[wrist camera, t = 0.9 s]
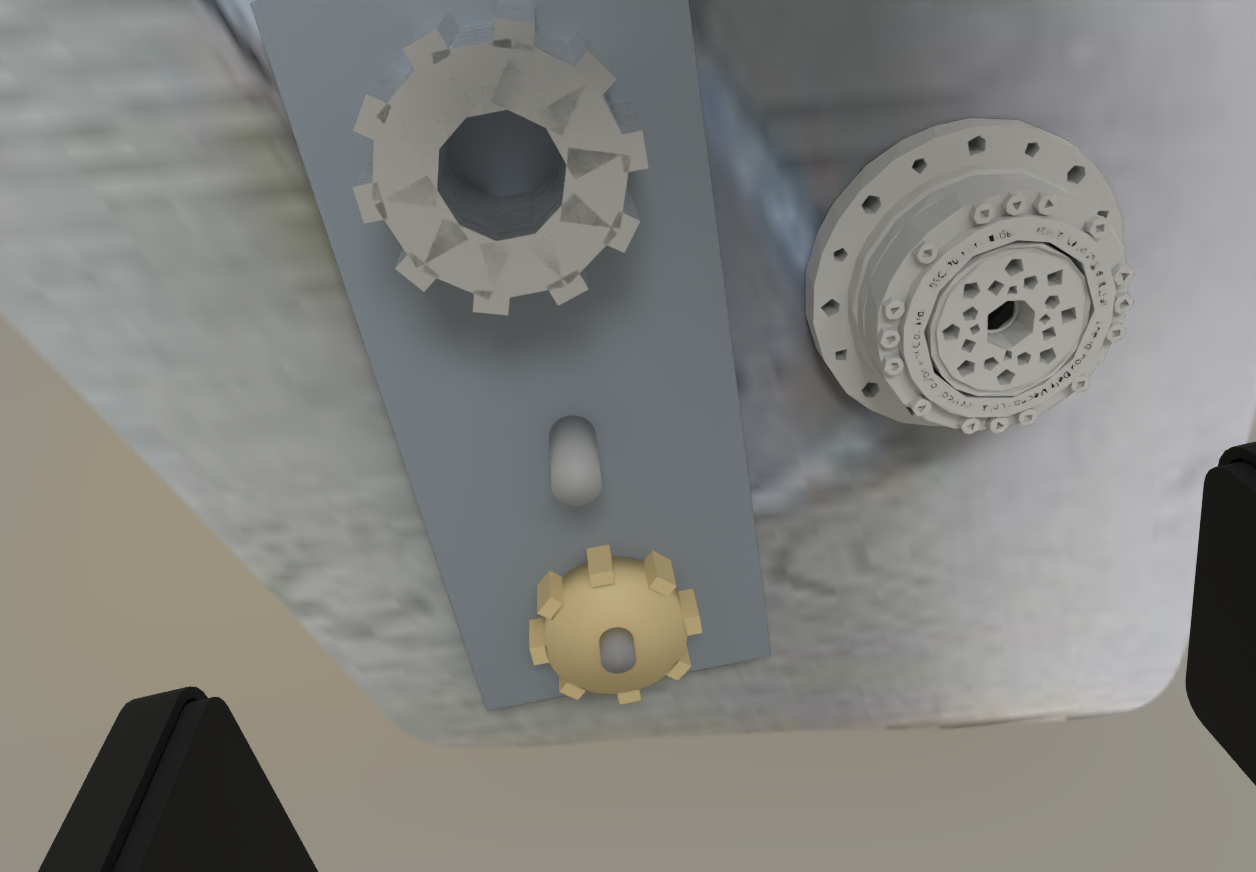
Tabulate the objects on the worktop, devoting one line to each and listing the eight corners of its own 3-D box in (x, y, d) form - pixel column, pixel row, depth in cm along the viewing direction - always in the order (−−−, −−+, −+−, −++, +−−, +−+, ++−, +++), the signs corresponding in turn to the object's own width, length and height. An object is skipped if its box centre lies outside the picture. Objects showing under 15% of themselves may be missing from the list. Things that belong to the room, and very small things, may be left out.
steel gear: (340, 31, 25) (310, 53, 21) (607, -21, 25) (620, -8, 21) (414, 282, 28) (398, 336, 25) (649, 237, 28) (666, 284, 25)
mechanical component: (1083, 385, 34) (1120, 93, 29) (1154, 446, 30) (1210, 122, 25) (806, 426, 34) (797, 140, 29) (841, 494, 30) (837, 176, 25)
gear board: (263, -3, 26) (217, 16, 22) (670, -82, 26) (696, -78, 22) (488, 682, 38) (483, 772, 34) (762, 629, 38) (790, 714, 34)
